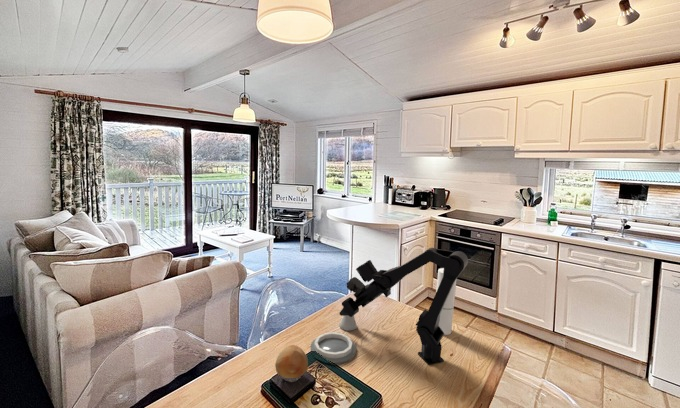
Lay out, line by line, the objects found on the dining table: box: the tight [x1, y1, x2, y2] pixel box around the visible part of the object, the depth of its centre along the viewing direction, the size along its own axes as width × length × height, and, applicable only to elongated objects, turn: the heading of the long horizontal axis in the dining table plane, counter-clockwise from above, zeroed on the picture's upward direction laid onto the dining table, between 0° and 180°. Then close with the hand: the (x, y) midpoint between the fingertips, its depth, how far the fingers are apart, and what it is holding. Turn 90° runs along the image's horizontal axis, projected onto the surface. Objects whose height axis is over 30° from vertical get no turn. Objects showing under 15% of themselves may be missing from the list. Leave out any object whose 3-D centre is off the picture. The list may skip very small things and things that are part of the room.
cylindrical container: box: [435, 267, 458, 336], centre depth 124 cm, size 7×7×25 cm
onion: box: [274, 344, 309, 378], centre depth 94 cm, size 10×10×10 cm
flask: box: [339, 315, 358, 332], centre depth 125 cm, size 7×7×10 cm
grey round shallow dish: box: [310, 331, 357, 365], centre depth 109 cm, size 16×16×3 cm
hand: (346, 309), depth 125 cm, fingers open, 9 cm apart
